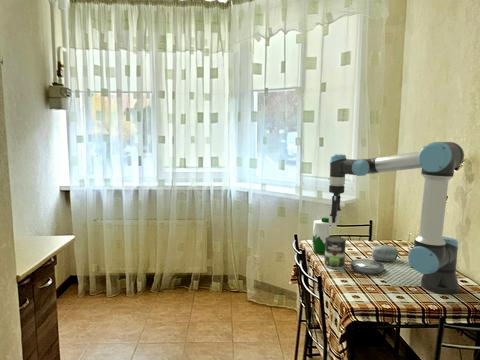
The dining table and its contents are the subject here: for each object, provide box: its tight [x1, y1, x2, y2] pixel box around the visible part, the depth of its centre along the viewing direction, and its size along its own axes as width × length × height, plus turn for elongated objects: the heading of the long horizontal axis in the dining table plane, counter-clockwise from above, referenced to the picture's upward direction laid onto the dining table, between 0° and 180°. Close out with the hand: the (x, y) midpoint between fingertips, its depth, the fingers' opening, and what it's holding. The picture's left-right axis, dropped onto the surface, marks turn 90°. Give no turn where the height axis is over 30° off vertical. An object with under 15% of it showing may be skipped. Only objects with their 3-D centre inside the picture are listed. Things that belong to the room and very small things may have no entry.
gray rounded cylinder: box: [371, 244, 399, 262], centre depth 204 cm, size 14×10×10 cm
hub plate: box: [350, 258, 385, 276], centre depth 190 cm, size 16×16×3 cm
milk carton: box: [312, 217, 331, 255], centre depth 217 cm, size 9×9×20 cm
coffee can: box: [323, 236, 347, 270], centre depth 195 cm, size 10×10×14 cm
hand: (335, 226), depth 193 cm, fingers open, 13 cm apart
